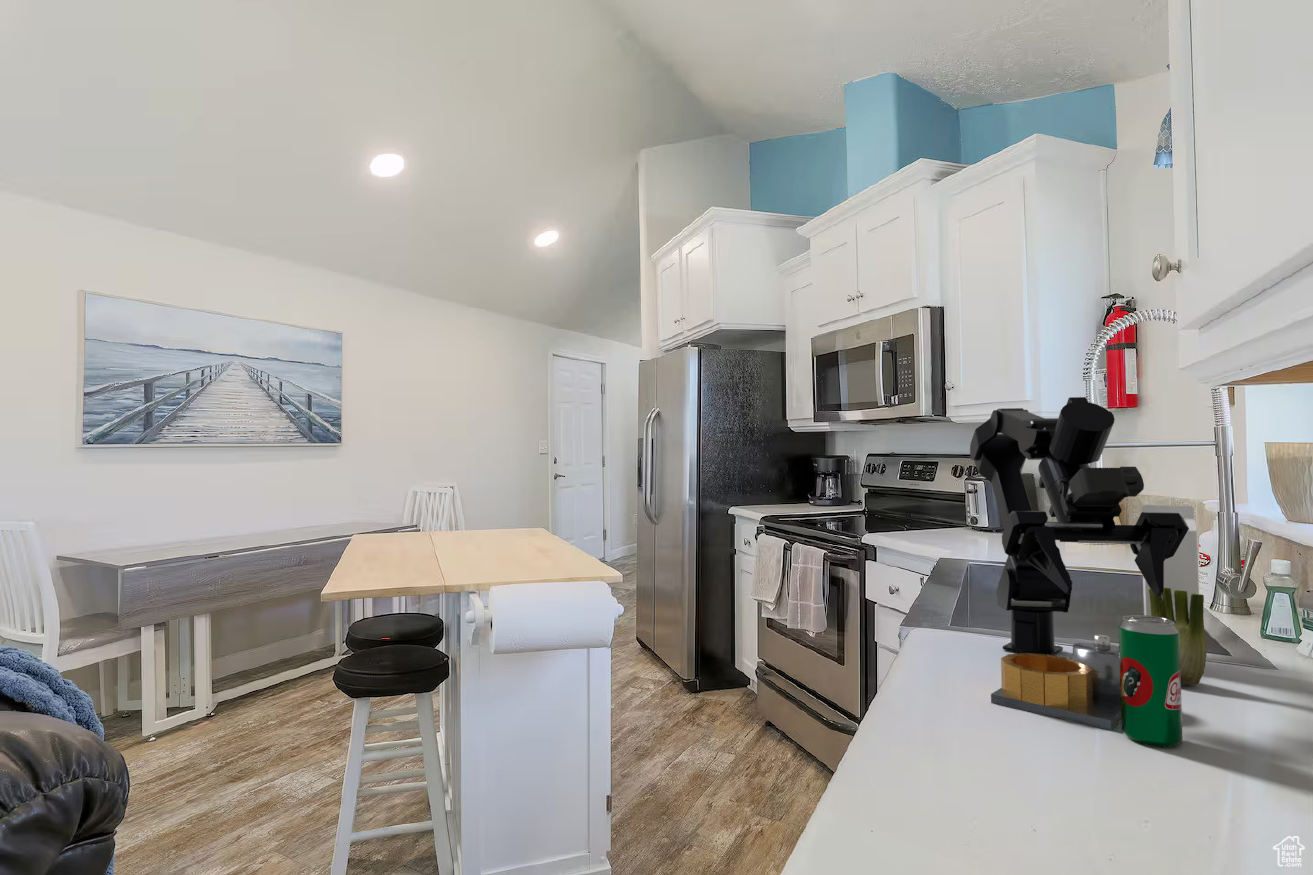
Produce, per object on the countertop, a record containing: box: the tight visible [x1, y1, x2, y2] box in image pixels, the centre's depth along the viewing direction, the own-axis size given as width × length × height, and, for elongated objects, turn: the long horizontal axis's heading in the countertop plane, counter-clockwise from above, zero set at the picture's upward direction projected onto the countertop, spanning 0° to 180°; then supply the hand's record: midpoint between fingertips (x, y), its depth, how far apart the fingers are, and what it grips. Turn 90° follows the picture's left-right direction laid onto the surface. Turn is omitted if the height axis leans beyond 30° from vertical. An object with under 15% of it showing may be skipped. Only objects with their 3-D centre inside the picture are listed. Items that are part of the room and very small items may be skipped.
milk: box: [1141, 504, 1200, 621], centre depth 98 cm, size 6×6×22 cm
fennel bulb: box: [1149, 588, 1207, 686], centre depth 90 cm, size 6×5×12 cm
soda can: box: [1117, 614, 1184, 748], centre depth 71 cm, size 5×5×12 cm
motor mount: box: [990, 634, 1121, 731], centre depth 82 cm, size 14×12×8 cm
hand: (1114, 592), depth 79 cm, fingers open, 9 cm apart
